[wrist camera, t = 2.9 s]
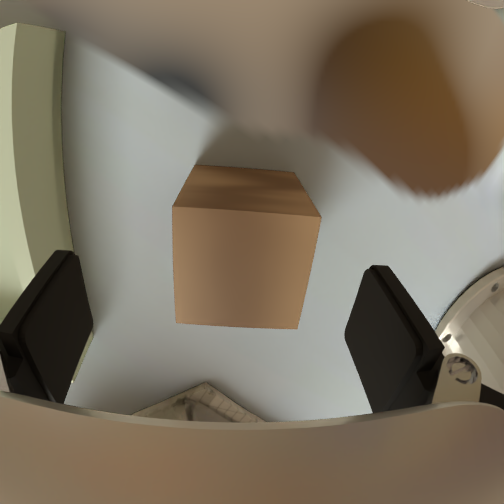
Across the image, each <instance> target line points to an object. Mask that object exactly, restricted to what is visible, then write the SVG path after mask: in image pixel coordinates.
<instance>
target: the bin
mask: <svg viewBox="0 0 504 504" xmlns="http://www.w3.org/2000/svg"><path fill="white" fill-rule="evenodd" d="M65 33H66V32H65V31H61V30H56V29H51V28H46V27H41V26H35V25H30V24H23V23H14V24H11V25H8V26H6V27H3V28H0V324H1V323H2V321H3V320H4V318H5V317H6V315H7V314H8V312H9V311H10V309H11V308H12V307H13V305H14V304H15V302H16V301H17V299H18V298H19V297H20V295H21V294H22V293H23V291H24V290H25V288H26V287H27V286H28V284H29V283H30V282H31V280H32V279H33V278H34V277H35V275H36V274H37V273H38V271H39V270H40V269H41V268H42V266H43V265H44V264H45V263H46V261H47V260H48V259H49V258H50V256H51V255H52V254H53V253H54V251H56V250H72V251H73V252H74V249H73V243H72V237H71V231H70V224H69V217H68V209H67V201H66V192H65V181H64V169H63V154H62V130H61V92H62V68H63V54H64V42H65ZM92 339H93V333H92V331H91V333H90V336H89V338H88V341H87V343H86V345H85V348H84V350H83V353H82V355H81V358H80V360H79V363H78V366H77V368H76V371H75V373H74V376H73V379H72V381H71V383H74V381H75V378H76V376H77V374H78V371H79V369H80V367H81V364H82V362H83V360H84V357H85V355H86V353H87V350H88V348H89V346H90V344H91V341H92Z"/></svg>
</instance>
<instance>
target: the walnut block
mask: <svg viewBox="0 0 504 504" xmlns="http://www.w3.org/2000/svg"><path fill="white" fill-rule="evenodd" d="M320 222H321V216H320V214H319V212H318V211H317V209H316V207H315V206H314V204H313V202H312V201H311V199H310V198H309V196H308V194H307V193H306V191H305V189H304V188H303V186H302V185H301V183H300V181H299V180H298V178H297V177H296V175H295V173H294V172H284V171H274V170H263V169H251V168H238V167H223V166H207V165H194V167H193V169H192V171H191V173H190V174H189V176H188V178H187V180H186V182H185V184H184V185H183V187H182V189H181V191H180V193H179V195H178V197H177V199H176V201H175V202H174V204H173V206H172V231H173V272H174V296H175V314H176V323H184V324H197V325H211V326H228V327H247V328H272V329H297V328H298V324H299V320H300V316H301V311H302V307H303V303H304V298H305V294H306V289H307V285H308V280H309V276H310V271H311V267H312V262H313V257H314V252H315V248H316V243H317V238H318V233H319V228H320Z"/></svg>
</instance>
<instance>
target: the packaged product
mask: <svg viewBox="0 0 504 504" xmlns="http://www.w3.org/2000/svg"><path fill="white" fill-rule="evenodd" d="M132 416H139V417H148V418H158V419H169V420H182V421H199V422H230V423H257V422H265V421H264V420H262V419H261V418H259V417H258V416H256V415H254V414H252V413H250V412H248V411H247V410H245V409H244V408H243V407H241V406H240V405H238V404H236V403H235V402H233V401H232V400H230V399H229V398H228V397H226V396H225V395H224V394H222V393H221V392H219V391H218V390H217V389H215V388H213V387H212V386H210V385H209V384H208V383H206V382H205V383H203V384H200V385H198V386H196V387H194V388H191V389H189V390H187V391H185V392H182V393H180V394H178V395H175V396H173V397H171V398H168V399H166V400H164V401H162V402H160V403H158V404H155V405H152V406H150V407H148V408H145V409H143V410H141V411H138V412H136V413H134V414H132Z"/></svg>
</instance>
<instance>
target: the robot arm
mask: <svg viewBox="0 0 504 504" xmlns="http://www.w3.org/2000/svg"><path fill="white" fill-rule="evenodd" d="M92 328H93V319H92V315H91V311H90V307H89V303H88V298H87V294H86V290H85V285H84V280H83V276H82V271H81V266H80V260H79V257H78V256H77V255H75V254H74V252H73V251H72V250H56V251H54V253H53V254H52V255H51V256H50V258H49V259H48V260H47V261H46V263H45V264H44V265H43V266H42V268H41V269H40V270H39V271H38V273H37V274H36V275H35V277H34V278H33V279H32V280H31V282H30V283H29V284H28V286H27V287H26V288H25V290H24V291H23V293H22V294H21V295H20V297H19V298H18V299H17V301H16V302H15V304H14V305H13V307H12V308H11V309H10V311H9V312H8V314H7V315H6V317H5V318H4V320H3V321H2V323H1V324H0V504H504V267H502V268H500V269H497V270H495V271H493V272H491V273H489V274H487V275H486V276H484V277H483V278H481V279H480V280H478V281H477V282H476V283H475V284H473V285H472V286H471V287H470V288H469V289H468V290H467V291H466V292H465V293H464V294H463V295H461V296H460V297H459V298H458V300H457V301H456V302H455V303H454V304H453V305H452V307H451V308H450V309H449V310H448V312H447V313H446V314H445V316H444V317H443V319H442V320H441V322H440V323H439V325H438V327H437V329H436V331H434V330H433V328H432V327H431V325H430V324H429V322H428V321H427V319H426V318H425V316H424V315H423V313H422V312H421V310H420V309H419V308H418V306H417V305H416V303H415V302H414V300H413V299H412V298H411V296H410V295H409V293H408V292H407V291H406V289H405V288H404V286H403V285H402V284H401V282H400V281H399V280H398V278H397V277H396V275H395V274H394V273H393V271H392V270H391V269H390V267H388V266H382V265H372V266H371V267H370V268H369V269H367V270H365V272H364V275H363V278H362V281H361V284H360V287H359V290H358V293H357V296H356V300H355V303H354V305H353V308H352V311H351V314H350V317H349V320H348V323H347V326H346V328H345V341H346V343H347V346H348V348H349V351H350V353H351V356H352V358H353V361H354V364H355V366H356V369H357V371H358V374H359V377H360V379H361V382H362V385H363V387H364V390H365V393H366V395H367V398H368V401H369V403H370V406H371V409H372V412H373V413H371V414H364V415H356V416H348V417H340V418H330V419H318V420H305V421H288V422H257V423H230V422H199V421H182V420H169V419H158V418H148V417H139V416H131V415H123V414H116V413H109V412H103V411H97V410H91V409H86V408H81V407H75V406H70V405H65V404H64V401H65V398H66V395H67V392H68V390H69V387H70V384H71V381H72V379H73V376H74V373H75V371H76V368H77V366H78V363H79V360H80V358H81V355H82V353H83V350H84V348H85V345H86V343H87V341H88V338H89V336H90V333H91V331H92Z"/></svg>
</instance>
